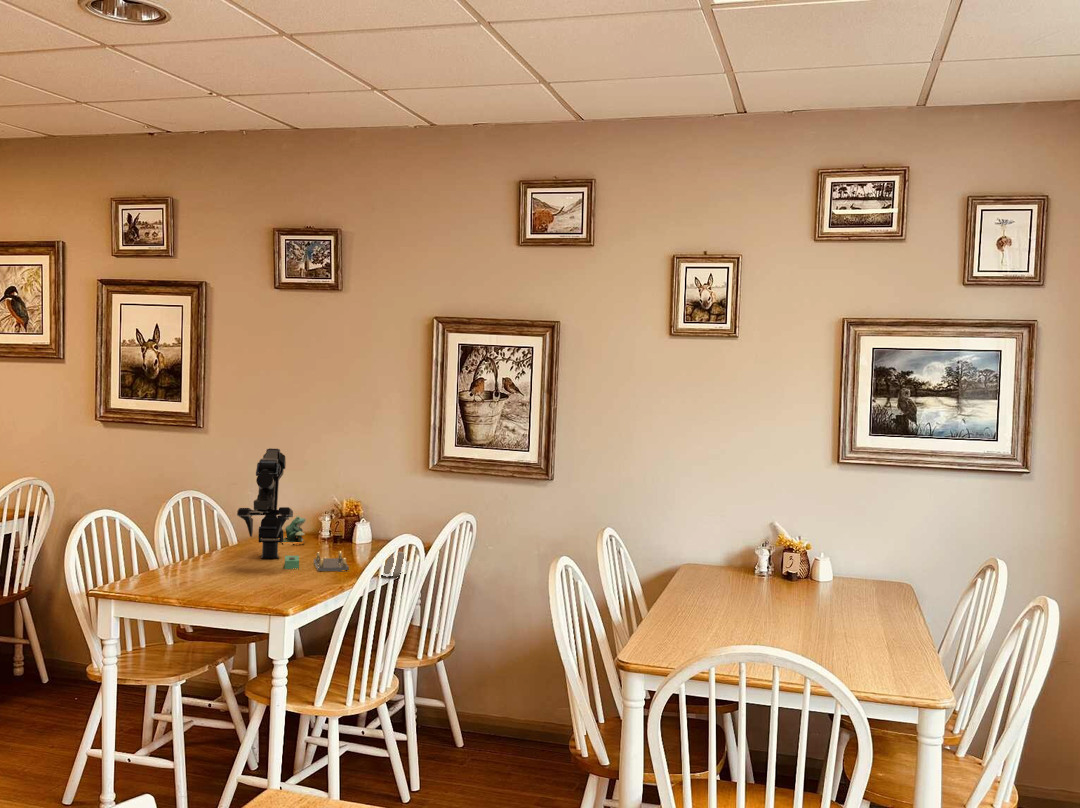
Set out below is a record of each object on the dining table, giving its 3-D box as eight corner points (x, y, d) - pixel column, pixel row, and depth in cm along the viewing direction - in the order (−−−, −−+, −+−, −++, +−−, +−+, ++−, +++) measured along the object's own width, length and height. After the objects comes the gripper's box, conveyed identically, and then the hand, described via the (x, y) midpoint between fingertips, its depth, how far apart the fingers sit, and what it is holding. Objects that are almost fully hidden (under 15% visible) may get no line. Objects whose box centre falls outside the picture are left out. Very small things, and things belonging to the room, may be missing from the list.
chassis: (313, 562, 365) (314, 550, 365) (343, 562, 369) (343, 550, 369) (318, 571, 349) (318, 559, 349) (348, 571, 353) (349, 558, 352)
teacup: (408, 578, 345) (408, 555, 345) (378, 579, 341) (378, 556, 341) (399, 570, 358) (399, 548, 358) (370, 571, 354) (370, 549, 354)
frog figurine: (315, 548, 396) (316, 520, 396) (270, 548, 392) (271, 519, 392) (316, 540, 413) (317, 513, 413) (273, 540, 410) (274, 513, 409)
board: (284, 564, 361) (285, 554, 361) (298, 564, 362) (298, 554, 362) (284, 570, 351) (284, 559, 351) (298, 570, 352) (299, 559, 352)
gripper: (234, 489, 342) (231, 533, 337) (287, 488, 342) (284, 532, 337) (243, 495, 352) (240, 538, 348) (294, 494, 353) (292, 537, 348)
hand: (263, 536), depth 345 cm, fingers open, 9 cm apart
